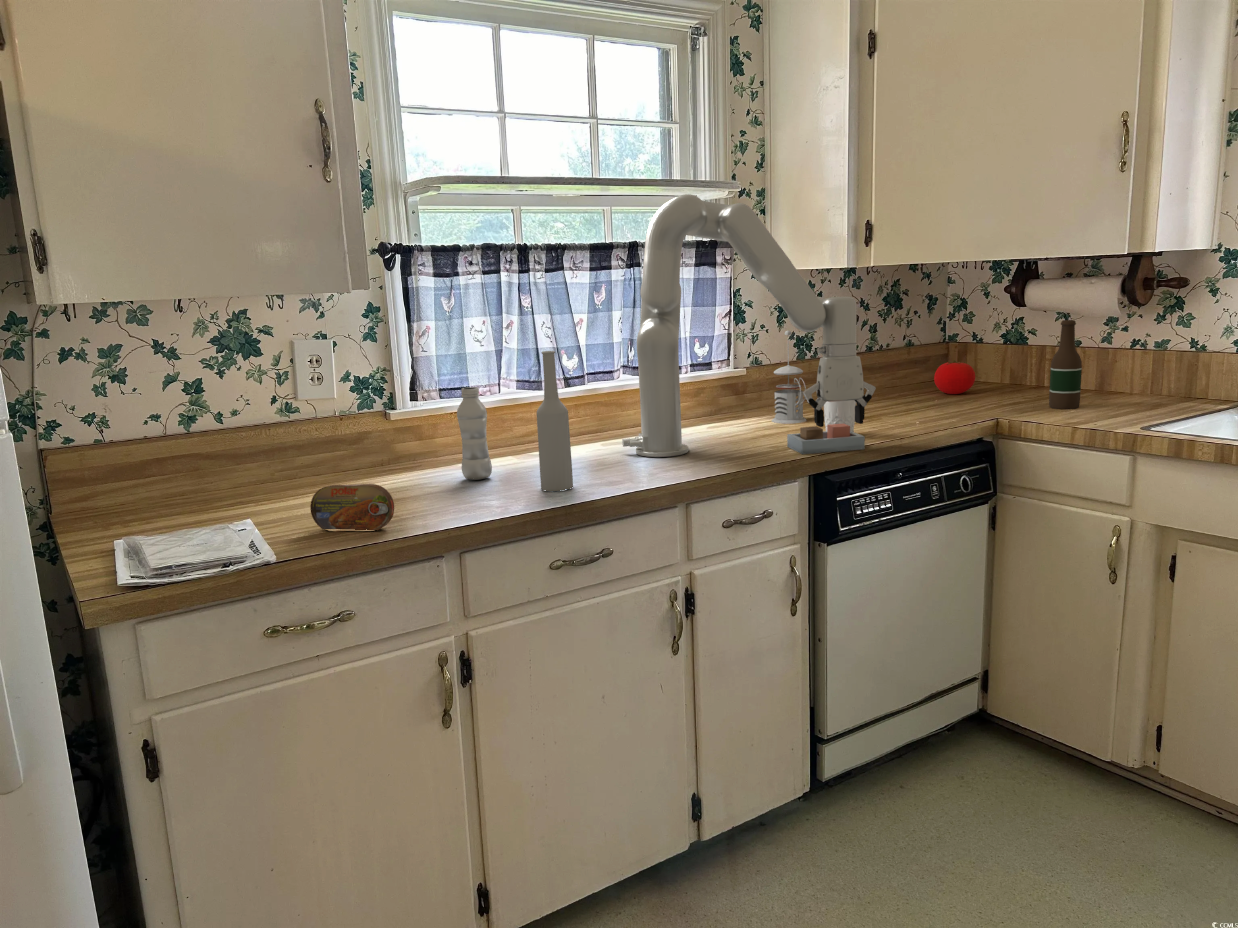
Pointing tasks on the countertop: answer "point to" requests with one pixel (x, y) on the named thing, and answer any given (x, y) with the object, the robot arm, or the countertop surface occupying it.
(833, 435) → the block red
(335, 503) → the tin
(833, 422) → the white cup
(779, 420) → the french press
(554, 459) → the bottle
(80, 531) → the countertop surface
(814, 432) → the block walnut
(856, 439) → the dish
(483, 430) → the plastic bottle
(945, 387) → the tomato
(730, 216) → the robot arm
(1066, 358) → the beer bottle
